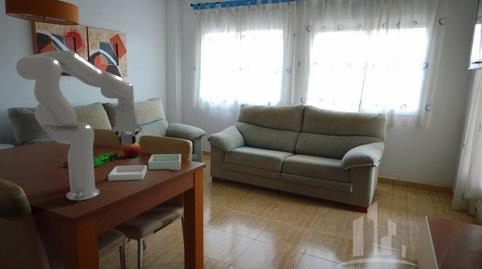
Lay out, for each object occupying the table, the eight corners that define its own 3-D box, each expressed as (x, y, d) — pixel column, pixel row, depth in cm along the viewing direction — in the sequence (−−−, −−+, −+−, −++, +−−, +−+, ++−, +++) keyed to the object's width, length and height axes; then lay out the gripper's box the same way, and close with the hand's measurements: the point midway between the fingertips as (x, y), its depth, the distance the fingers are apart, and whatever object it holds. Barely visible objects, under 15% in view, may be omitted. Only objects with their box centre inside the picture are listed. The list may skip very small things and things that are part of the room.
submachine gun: (49, 162, 171) (89, 162, 166) (84, 151, 199) (119, 151, 195) (50, 170, 171) (90, 171, 167) (85, 159, 200) (120, 159, 195)
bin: (179, 169, 172) (179, 161, 171) (148, 170, 170) (148, 162, 169) (180, 162, 189) (180, 154, 188) (152, 162, 186) (152, 154, 185)
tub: (142, 181, 153) (142, 174, 152) (108, 182, 150) (108, 175, 149) (147, 171, 168) (146, 165, 167) (116, 172, 166) (116, 166, 165)
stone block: (132, 144, 154) (131, 135, 153) (121, 145, 153) (121, 135, 153) (133, 143, 159) (133, 133, 158) (123, 143, 158) (123, 133, 157)
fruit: (119, 157, 197) (119, 142, 195) (131, 154, 207) (130, 139, 205) (133, 159, 193) (133, 143, 191) (144, 155, 203) (144, 140, 201)
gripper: (106, 108, 148) (108, 145, 151) (142, 108, 151) (144, 145, 154) (110, 107, 155) (111, 142, 159) (145, 107, 158) (146, 142, 161)
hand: (127, 143), depth 156 cm, fingers closed on stone block, 5 cm apart
